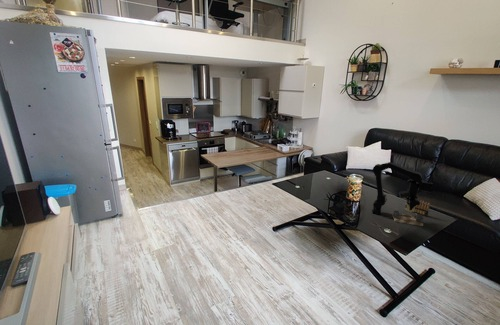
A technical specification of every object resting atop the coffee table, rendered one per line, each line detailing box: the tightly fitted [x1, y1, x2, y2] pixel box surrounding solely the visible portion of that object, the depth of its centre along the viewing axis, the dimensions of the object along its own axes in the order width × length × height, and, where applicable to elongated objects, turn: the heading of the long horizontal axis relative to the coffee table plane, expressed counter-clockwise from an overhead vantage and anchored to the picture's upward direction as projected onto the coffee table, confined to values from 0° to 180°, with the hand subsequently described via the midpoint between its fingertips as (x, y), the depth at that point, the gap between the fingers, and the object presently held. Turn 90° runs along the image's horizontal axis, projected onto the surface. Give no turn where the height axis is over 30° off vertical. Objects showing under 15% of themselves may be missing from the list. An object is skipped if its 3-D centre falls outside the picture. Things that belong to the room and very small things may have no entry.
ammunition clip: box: [411, 198, 430, 218], centre depth 191 cm, size 11×2×12 cm, turn 42°
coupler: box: [404, 201, 415, 213], centre depth 179 cm, size 5×6×5 cm
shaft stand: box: [391, 210, 424, 227], centre depth 182 cm, size 18×10×6 cm, turn 70°
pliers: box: [369, 221, 399, 238], centre depth 169 cm, size 10×1×20 cm
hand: (409, 208), depth 180 cm, fingers closed on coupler, 5 cm apart
